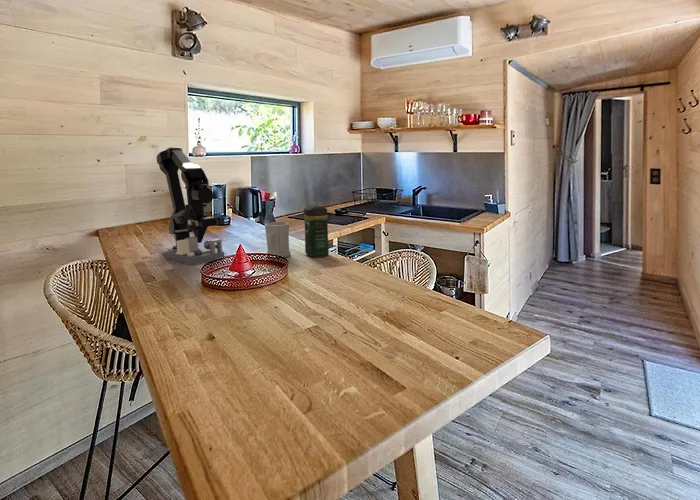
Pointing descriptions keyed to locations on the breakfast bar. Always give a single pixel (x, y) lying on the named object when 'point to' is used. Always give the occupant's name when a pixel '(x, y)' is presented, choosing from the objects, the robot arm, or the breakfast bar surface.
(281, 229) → the cup
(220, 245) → the console
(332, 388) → the breakfast bar surface
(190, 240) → the white stepped block
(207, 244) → the plunger
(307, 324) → the breakfast bar surface
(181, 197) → the robot arm
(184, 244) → the cream flanged block
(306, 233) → the coffee jar
